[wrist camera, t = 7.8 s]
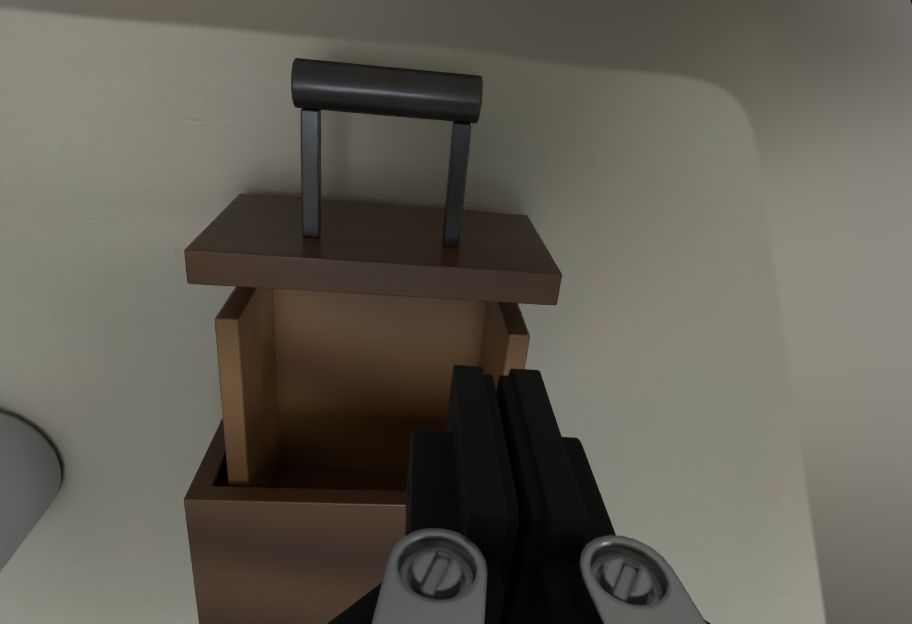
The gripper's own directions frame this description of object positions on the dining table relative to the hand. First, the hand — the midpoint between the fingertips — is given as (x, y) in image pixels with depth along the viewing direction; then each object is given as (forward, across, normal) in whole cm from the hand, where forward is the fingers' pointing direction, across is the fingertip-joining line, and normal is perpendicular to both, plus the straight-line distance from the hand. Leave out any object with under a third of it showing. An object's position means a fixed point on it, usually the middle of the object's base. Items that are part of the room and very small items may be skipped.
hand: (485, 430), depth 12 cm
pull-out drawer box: (+16, +3, +5) cm, 17 cm away
